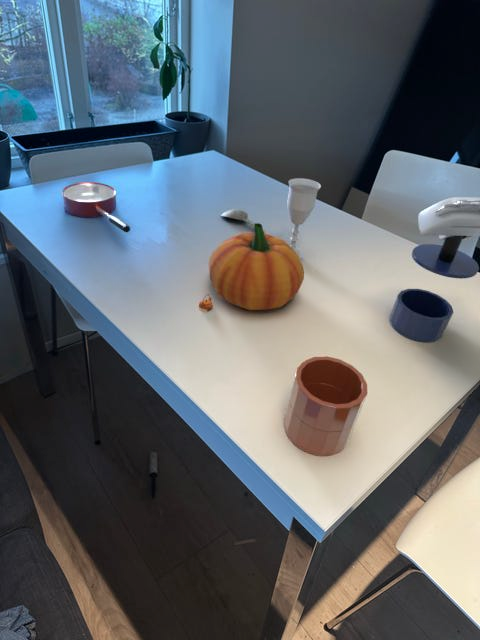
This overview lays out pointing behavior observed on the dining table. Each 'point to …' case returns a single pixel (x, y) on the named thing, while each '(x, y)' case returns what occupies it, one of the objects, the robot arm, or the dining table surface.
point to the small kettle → (205, 304)
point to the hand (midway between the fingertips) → (452, 235)
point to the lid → (446, 259)
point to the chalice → (300, 204)
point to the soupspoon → (238, 216)
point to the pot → (324, 405)
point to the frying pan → (92, 201)
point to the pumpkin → (256, 270)
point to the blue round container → (420, 315)
